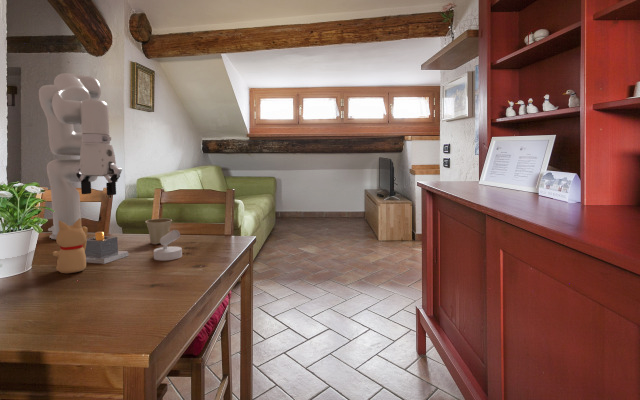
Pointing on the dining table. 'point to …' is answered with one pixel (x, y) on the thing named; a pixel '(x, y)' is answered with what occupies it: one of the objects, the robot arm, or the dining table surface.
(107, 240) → the grey square box
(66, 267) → the figurine
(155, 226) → the flower pot
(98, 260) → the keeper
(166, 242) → the wall hook
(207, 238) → the dining table surface
